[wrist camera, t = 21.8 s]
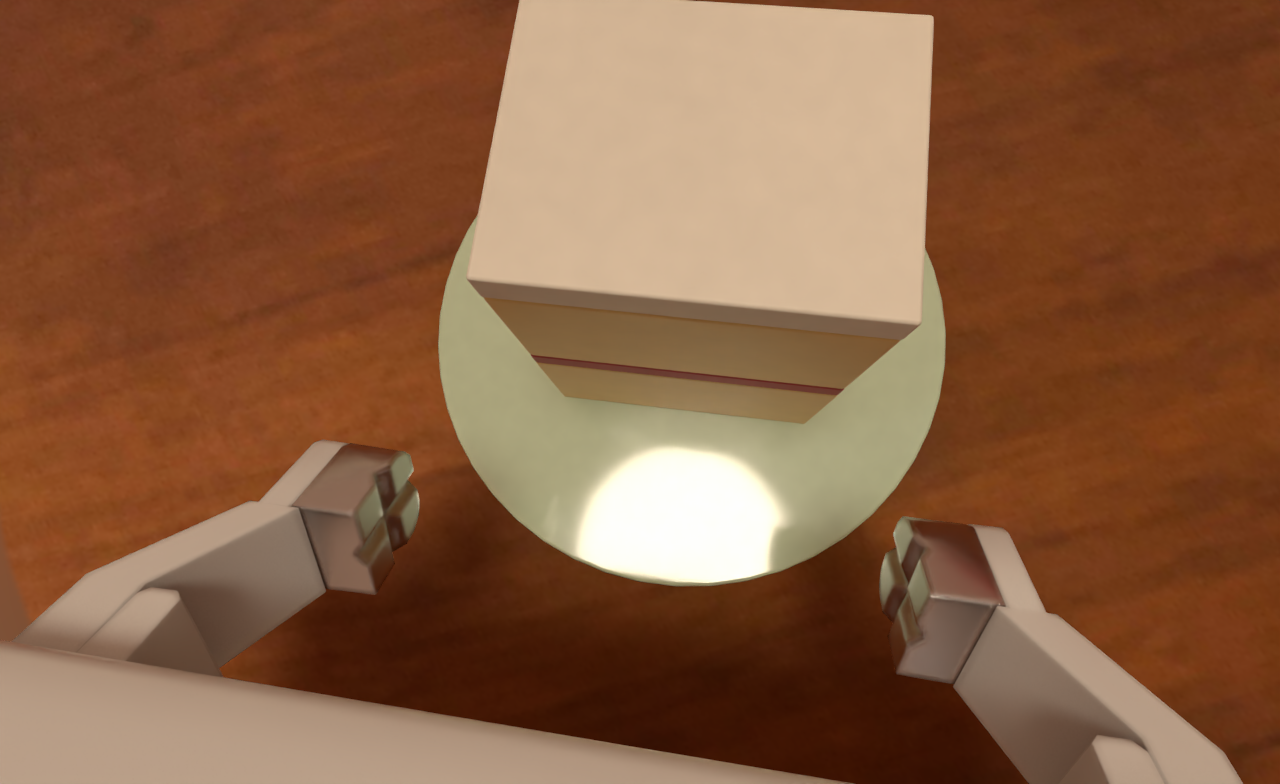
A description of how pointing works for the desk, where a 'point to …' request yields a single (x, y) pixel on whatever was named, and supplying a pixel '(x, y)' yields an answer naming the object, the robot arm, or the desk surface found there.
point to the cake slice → (708, 199)
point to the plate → (681, 455)
